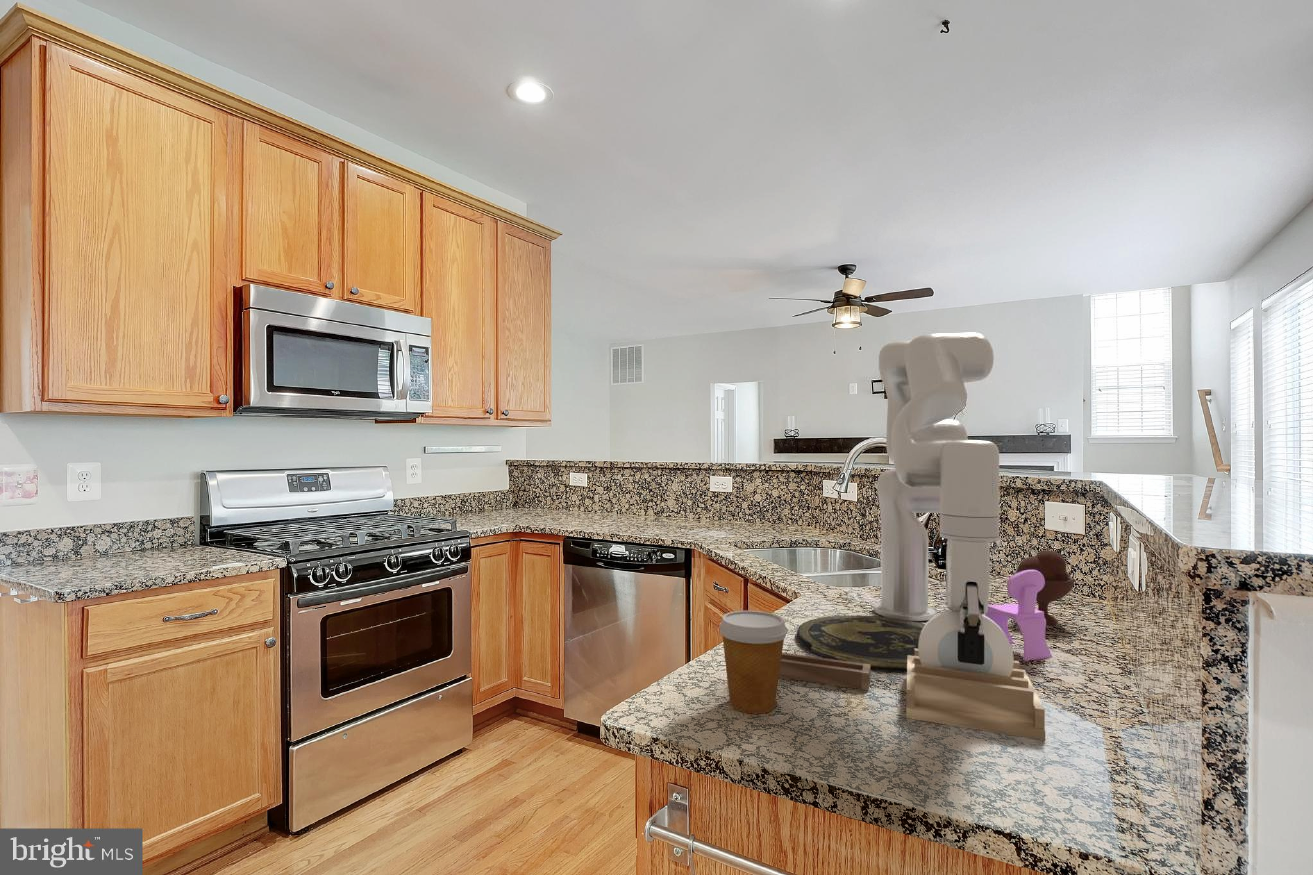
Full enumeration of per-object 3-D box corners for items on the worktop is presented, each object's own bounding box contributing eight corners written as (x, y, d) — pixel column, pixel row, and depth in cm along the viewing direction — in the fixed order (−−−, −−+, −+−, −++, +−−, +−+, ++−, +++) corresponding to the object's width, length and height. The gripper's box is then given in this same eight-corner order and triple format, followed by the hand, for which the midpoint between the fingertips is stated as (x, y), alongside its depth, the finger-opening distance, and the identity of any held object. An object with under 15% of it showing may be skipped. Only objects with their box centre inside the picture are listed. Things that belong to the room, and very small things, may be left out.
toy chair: (1013, 641, 117) (1013, 561, 117) (1056, 656, 109) (1057, 570, 109) (978, 645, 115) (979, 563, 115) (1020, 661, 106) (1020, 573, 106)
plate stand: (771, 666, 103) (771, 651, 103) (870, 680, 97) (870, 664, 97) (765, 674, 99) (766, 659, 99) (868, 690, 93) (868, 673, 93)
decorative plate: (1010, 651, 107) (869, 672, 96) (1010, 662, 107) (869, 685, 96) (886, 609, 134) (765, 622, 124) (886, 618, 134) (765, 631, 123)
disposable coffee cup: (800, 704, 87) (800, 618, 88) (760, 726, 81) (761, 633, 81) (745, 685, 94) (745, 606, 94) (704, 704, 87) (705, 618, 88)
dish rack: (907, 677, 98) (907, 644, 98) (1024, 693, 92) (1024, 658, 92) (906, 717, 83) (906, 678, 84) (1045, 740, 77) (1045, 698, 77)
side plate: (908, 615, 92) (997, 602, 88) (931, 698, 91) (1023, 688, 86) (908, 619, 90) (998, 605, 86) (932, 703, 89) (1025, 693, 84)
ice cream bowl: (1060, 615, 135) (1060, 546, 135) (1083, 630, 124) (1083, 555, 124) (1006, 612, 138) (1006, 544, 138) (1024, 626, 127) (1024, 552, 127)
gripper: (937, 519, 98) (937, 633, 97) (942, 534, 82) (941, 670, 81) (991, 522, 95) (991, 639, 95) (1007, 537, 79) (1007, 679, 78)
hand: (968, 652), depth 88 cm, fingers open, 7 cm apart
